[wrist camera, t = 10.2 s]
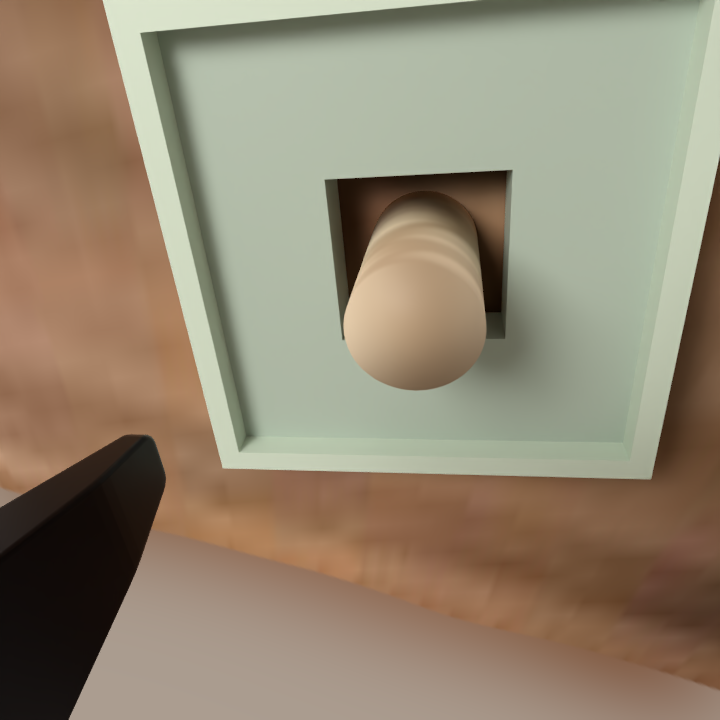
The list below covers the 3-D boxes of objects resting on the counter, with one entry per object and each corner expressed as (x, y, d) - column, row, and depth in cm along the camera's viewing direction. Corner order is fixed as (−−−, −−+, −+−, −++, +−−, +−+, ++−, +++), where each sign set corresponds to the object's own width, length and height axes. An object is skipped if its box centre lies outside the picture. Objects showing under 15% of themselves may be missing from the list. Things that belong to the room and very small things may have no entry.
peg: (478, 188, 19) (488, 261, 14) (476, 290, 21) (485, 391, 16) (368, 193, 20) (336, 265, 14) (376, 292, 22) (350, 390, 16)
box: (715, -59, 15) (767, -71, 13) (629, 426, 23) (650, 479, 21) (153, 0, 18) (102, 0, 15) (245, 422, 26) (223, 468, 23)
